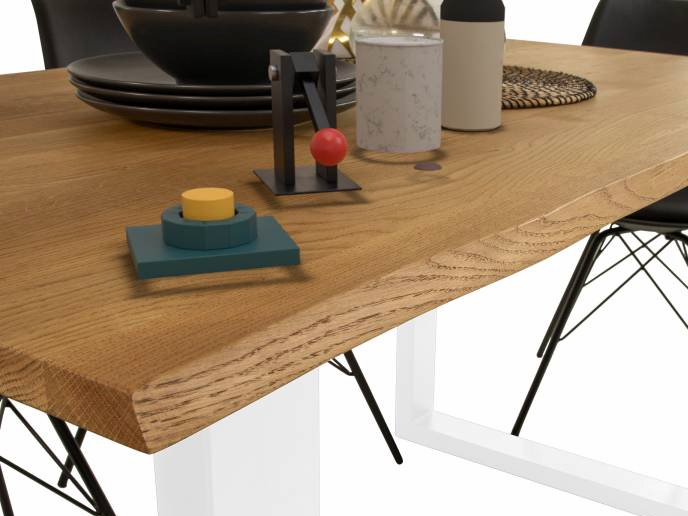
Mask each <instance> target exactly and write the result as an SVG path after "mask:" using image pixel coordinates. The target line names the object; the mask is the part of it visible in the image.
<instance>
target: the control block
mask: <svg viewBox="0 0 688 516" xmlns="http://www.w3.org/2000/svg"><path fill="white" fill-rule="evenodd" d="M234 213H235V216H234V217H231V218H227V219H223V220H213V221H197V220H188V219H184V218H183V210H182V204H178V205H174V206H171V207H169V208H167V209H166V210H164V211H162V212H161V213H160V222H161V223H159V224H158V223H157V224H146V225H133V226H125V239H126V245H127V247H128V251H129V254H130V257H131V260H132V263H133V266H134V269H135V273H136V275H137V278H138V280H139V281H140V280H152V279H161V278H172V277H182V276H183V277H184V276H193V275H204V274H215V273H223V272H233V271H243V270H245V271H246V270H255V269H256V270H257V269H266V268H267V269H268V268H276V267H286V266H296V265H297V266H298V265H301V249H300V247H299V245H298V244H297V243H296V241H294V239H293V238H292V237H291V236H290V235H289V234H288V233H287V231H286V230H285V229H284V228H283V226H282V225H281V224H280V223H279V221H277V219H276V218H275V217H274V215H261V216H260V215H259V216H257V211H256V210H255V209H254V208H253V207H252V206H250V205H246V204H242V203H238V202H235V201H234Z"/></svg>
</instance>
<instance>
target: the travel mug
mask: <svg viewBox="0 0 688 516" xmlns="http://www.w3.org/2000/svg"><path fill="white" fill-rule="evenodd" d="M505 20H506V6H505V4H504V2H503V0H442V1H441V4H440V6H439V38H440V39H443V41H444V43H443V53H442V103H441V127H442V128H444V129H448V130H451V131H458V132H486V131H491V130H495V129H497V128H498V127H500V126H501V123H502V98H503V77H504V76H503V73H504V50H505V49H504V48H505V25H506V21H505Z"/></svg>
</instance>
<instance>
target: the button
mask: <svg viewBox="0 0 688 516" xmlns="http://www.w3.org/2000/svg"><path fill="white" fill-rule="evenodd" d="M234 195H235V194H234V192H233V191H232V190H230V189H227V188H221V187H199V188H198V187H197V188H193V189H188V190H186V191H183V192H182V193H181V205H182V210H183V218H184V219H188V220H197V221H213V220H223V219H227V218H231V217H234V216H235V213H234V202H235V197H234Z"/></svg>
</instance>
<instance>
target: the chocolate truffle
mask: <svg viewBox="0 0 688 516" xmlns="http://www.w3.org/2000/svg"><path fill="white" fill-rule="evenodd" d="M413 169H414V170H417V171H423V172H424V171H425V172H435V171H440V170H442V169H443V167H442V165H441V164H440V163H437V162H435V161H427V160H426V161H421V162H418V163H416V164H414V166H413Z"/></svg>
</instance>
